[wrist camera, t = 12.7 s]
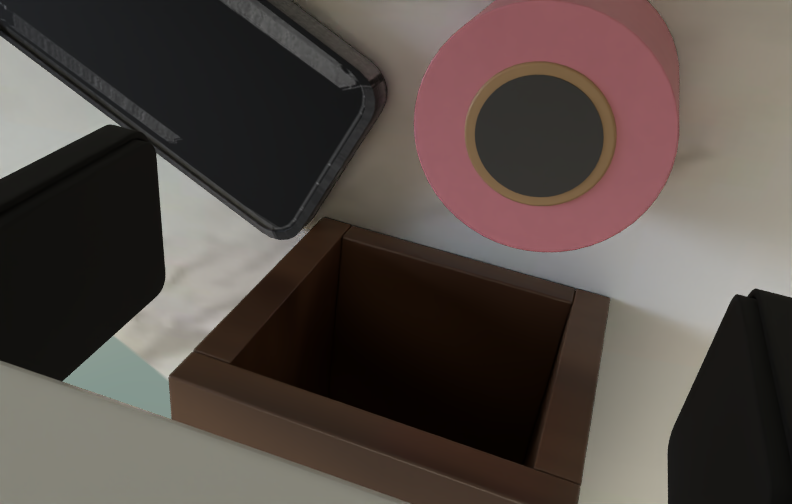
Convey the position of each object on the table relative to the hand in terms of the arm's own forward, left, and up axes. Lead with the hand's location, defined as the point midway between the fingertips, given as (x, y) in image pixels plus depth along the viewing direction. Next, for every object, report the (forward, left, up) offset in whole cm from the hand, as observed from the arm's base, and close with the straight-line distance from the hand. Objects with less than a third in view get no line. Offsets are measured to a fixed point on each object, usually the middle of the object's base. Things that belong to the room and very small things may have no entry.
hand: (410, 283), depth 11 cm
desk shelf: (+13, -1, -13) cm, 18 cm away
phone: (+2, -13, -13) cm, 18 cm away
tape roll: (0, +1, -13) cm, 13 cm away
